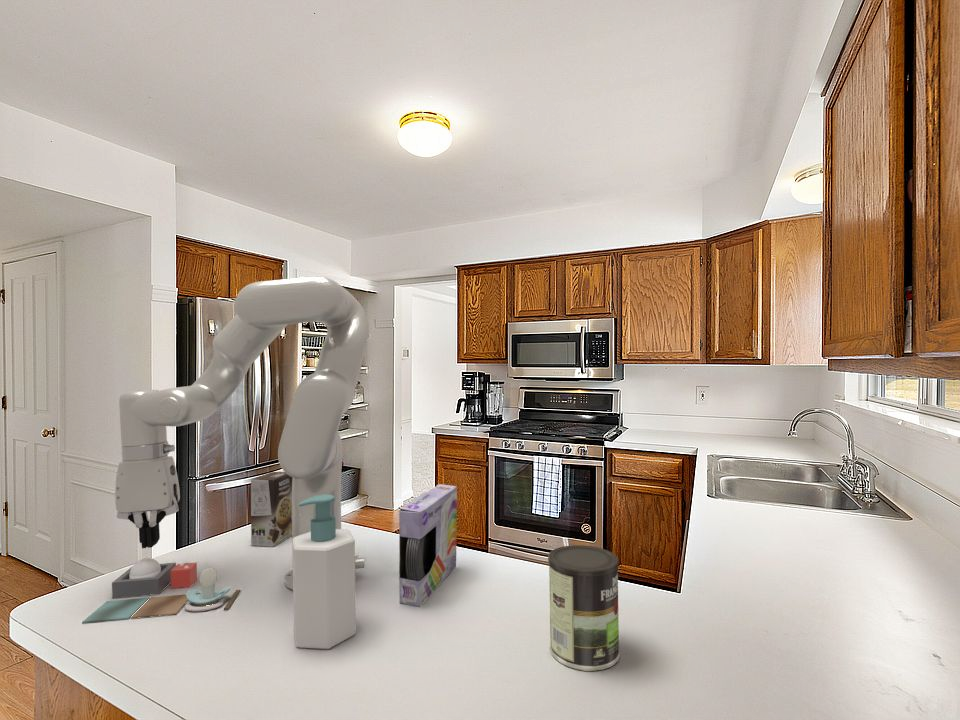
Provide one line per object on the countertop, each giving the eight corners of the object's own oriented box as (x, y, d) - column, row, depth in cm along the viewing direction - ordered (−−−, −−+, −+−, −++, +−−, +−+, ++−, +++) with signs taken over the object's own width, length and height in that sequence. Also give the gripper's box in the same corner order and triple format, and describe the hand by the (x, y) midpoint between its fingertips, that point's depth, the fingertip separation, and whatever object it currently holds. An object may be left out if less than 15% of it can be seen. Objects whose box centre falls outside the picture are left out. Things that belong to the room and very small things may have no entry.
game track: (240, 591, 98) (240, 589, 98) (228, 609, 91) (228, 608, 91) (106, 602, 94) (106, 601, 94) (82, 623, 86) (82, 621, 86)
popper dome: (165, 579, 103) (165, 553, 103) (154, 590, 98) (153, 563, 98) (137, 581, 102) (137, 555, 102) (124, 593, 97) (123, 565, 97)
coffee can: (628, 644, 78) (627, 551, 78) (607, 680, 69) (605, 576, 69) (565, 626, 83) (564, 540, 83) (538, 657, 75) (536, 561, 75)
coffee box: (274, 547, 121) (273, 479, 121) (250, 546, 122) (249, 478, 122) (295, 534, 130) (294, 471, 130) (272, 533, 131) (272, 470, 131)
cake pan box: (420, 611, 89) (418, 510, 89) (394, 607, 91) (393, 507, 91) (459, 568, 107) (458, 484, 107) (437, 565, 109) (436, 483, 109)
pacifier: (220, 613, 90) (233, 596, 96) (219, 578, 90) (232, 563, 96) (176, 615, 89) (193, 598, 95) (175, 580, 89) (192, 565, 95)
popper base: (201, 575, 106) (200, 556, 106) (185, 592, 98) (185, 572, 98) (133, 580, 104) (133, 561, 104) (112, 598, 96) (111, 578, 96)
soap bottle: (292, 624, 85) (290, 492, 85) (348, 613, 89) (346, 486, 89) (296, 657, 76) (294, 508, 76) (359, 642, 79) (357, 501, 79)
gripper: (193, 446, 105) (198, 535, 105) (113, 452, 103) (118, 543, 103) (178, 452, 98) (183, 548, 98) (91, 459, 95) (97, 557, 95)
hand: (150, 545), depth 100 cm, fingers closed
